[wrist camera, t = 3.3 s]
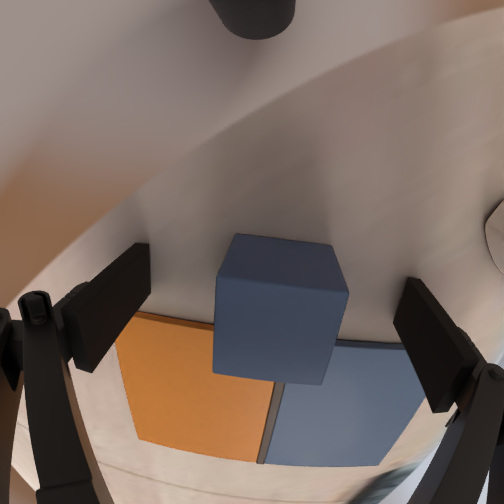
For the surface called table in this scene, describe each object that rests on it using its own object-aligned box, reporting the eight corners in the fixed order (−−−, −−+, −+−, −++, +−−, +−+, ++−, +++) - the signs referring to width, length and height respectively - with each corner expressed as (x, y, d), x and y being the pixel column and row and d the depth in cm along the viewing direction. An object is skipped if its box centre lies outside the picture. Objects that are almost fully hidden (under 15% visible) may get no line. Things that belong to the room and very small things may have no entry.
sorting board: (114, 305, 17) (108, 312, 16) (447, 344, 16) (451, 351, 15) (140, 434, 22) (138, 440, 21) (377, 460, 21) (378, 466, 20)
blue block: (235, 232, 15) (215, 275, 10) (332, 245, 14) (350, 292, 10) (229, 314, 16) (211, 373, 12) (314, 325, 16) (321, 387, 12)
